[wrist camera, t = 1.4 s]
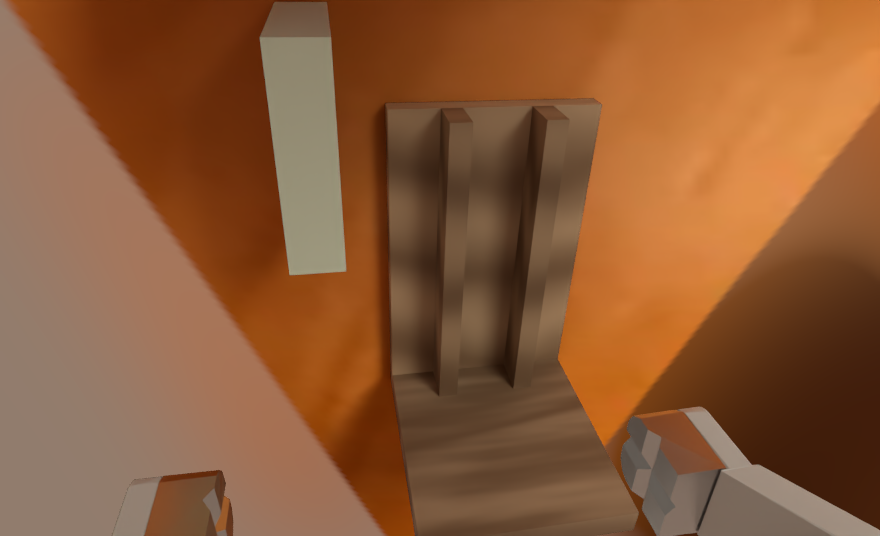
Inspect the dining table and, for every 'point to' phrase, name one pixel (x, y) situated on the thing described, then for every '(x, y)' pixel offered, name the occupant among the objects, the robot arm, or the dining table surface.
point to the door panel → (305, 134)
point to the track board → (492, 319)
